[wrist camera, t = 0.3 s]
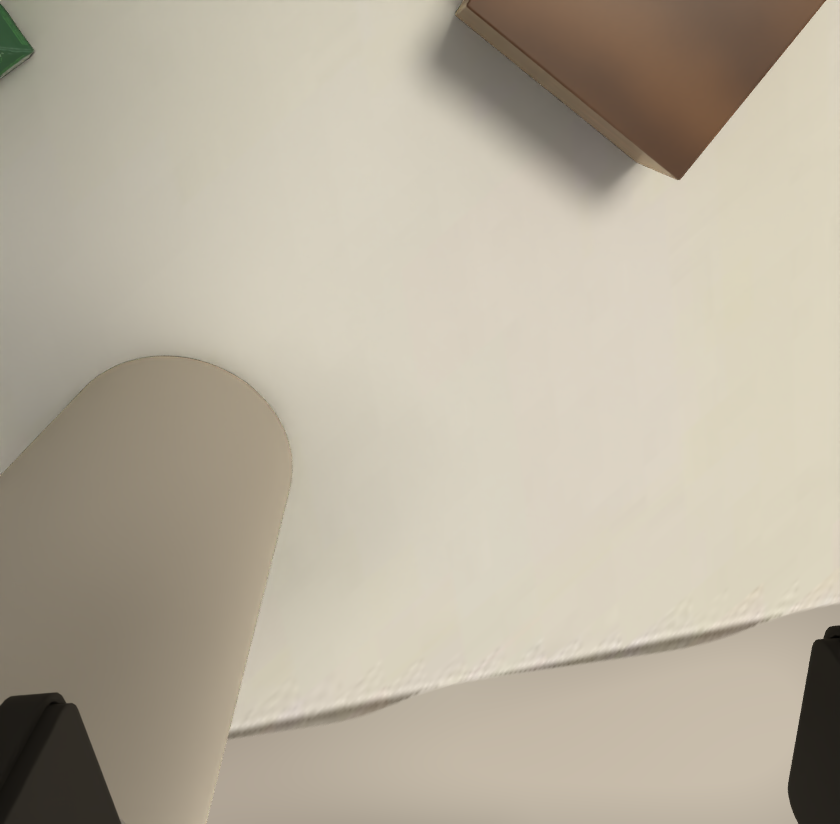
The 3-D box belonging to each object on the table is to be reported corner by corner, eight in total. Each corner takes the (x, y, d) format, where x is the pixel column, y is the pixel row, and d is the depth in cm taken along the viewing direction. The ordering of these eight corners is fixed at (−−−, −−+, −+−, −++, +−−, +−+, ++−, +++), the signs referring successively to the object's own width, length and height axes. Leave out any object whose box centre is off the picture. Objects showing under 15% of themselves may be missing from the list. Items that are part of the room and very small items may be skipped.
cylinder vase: (331, 503, 44) (262, 973, 21) (146, 574, 46) (-101, 1079, 23) (225, 314, 39) (-13, 666, 16) (21, 403, 41) (-448, 832, 18)
